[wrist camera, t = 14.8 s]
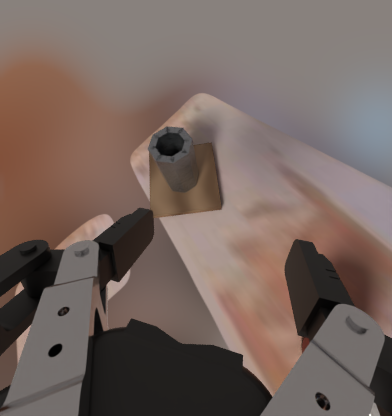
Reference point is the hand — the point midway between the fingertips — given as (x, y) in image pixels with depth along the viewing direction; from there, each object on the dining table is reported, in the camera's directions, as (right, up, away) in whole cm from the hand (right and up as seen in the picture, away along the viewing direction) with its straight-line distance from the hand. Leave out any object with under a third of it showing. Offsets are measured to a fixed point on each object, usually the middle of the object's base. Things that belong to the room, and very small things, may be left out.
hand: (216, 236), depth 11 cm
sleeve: (-4, +7, +25) cm, 27 cm away
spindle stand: (-4, +7, +27) cm, 28 cm away
